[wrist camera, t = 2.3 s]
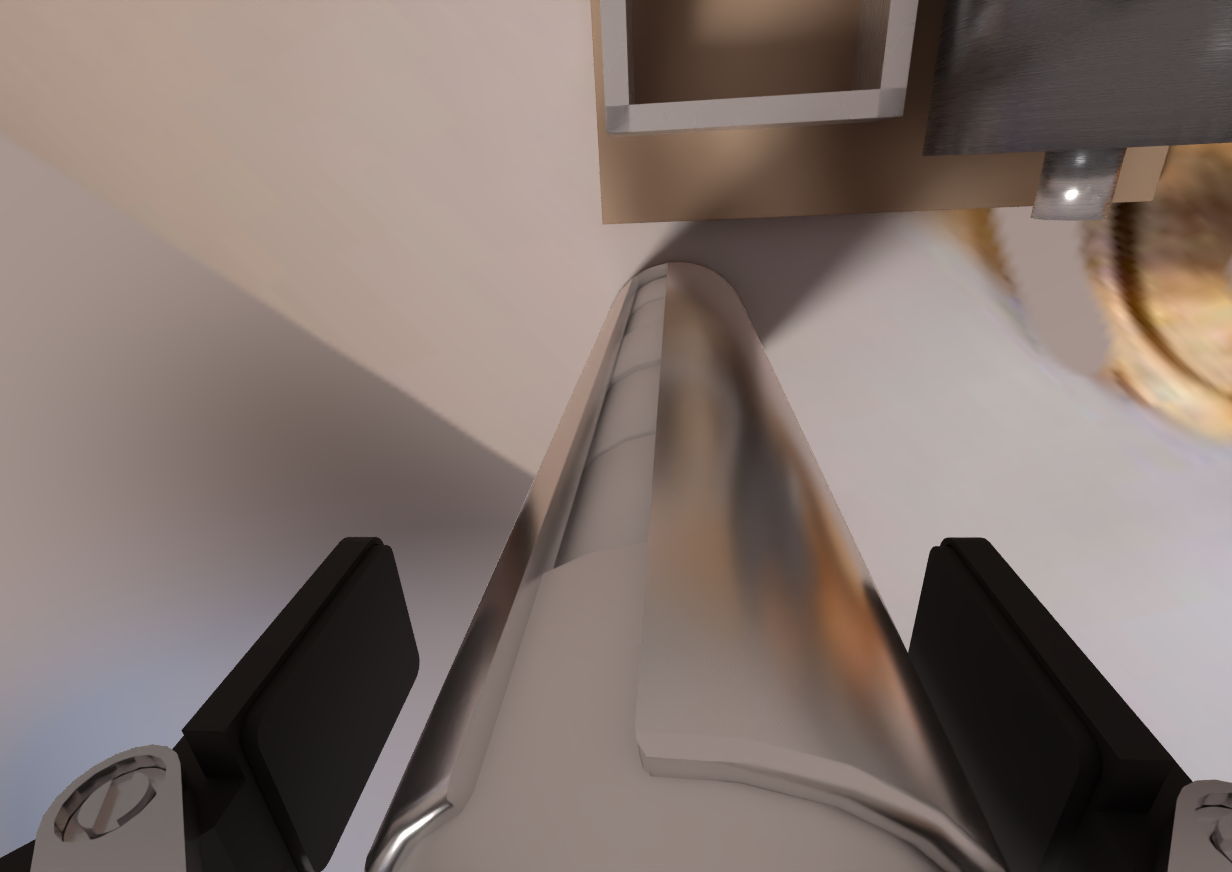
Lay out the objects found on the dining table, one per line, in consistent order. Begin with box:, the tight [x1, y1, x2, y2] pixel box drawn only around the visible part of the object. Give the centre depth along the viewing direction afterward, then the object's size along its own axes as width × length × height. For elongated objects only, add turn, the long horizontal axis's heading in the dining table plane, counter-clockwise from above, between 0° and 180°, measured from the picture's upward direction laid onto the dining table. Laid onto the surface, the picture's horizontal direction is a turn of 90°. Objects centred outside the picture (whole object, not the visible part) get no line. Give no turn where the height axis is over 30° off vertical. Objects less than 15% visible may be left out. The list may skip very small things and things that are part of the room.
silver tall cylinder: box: [364, 262, 1011, 872], centre depth 16 cm, size 6×6×25 cm
